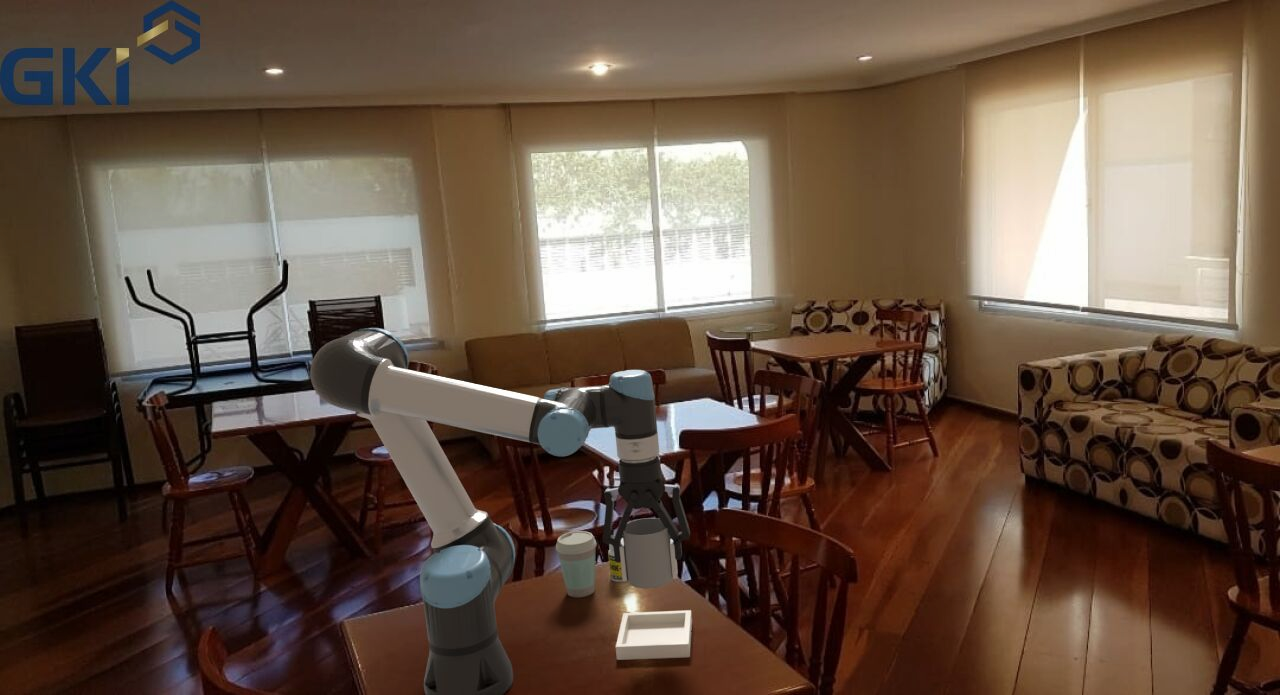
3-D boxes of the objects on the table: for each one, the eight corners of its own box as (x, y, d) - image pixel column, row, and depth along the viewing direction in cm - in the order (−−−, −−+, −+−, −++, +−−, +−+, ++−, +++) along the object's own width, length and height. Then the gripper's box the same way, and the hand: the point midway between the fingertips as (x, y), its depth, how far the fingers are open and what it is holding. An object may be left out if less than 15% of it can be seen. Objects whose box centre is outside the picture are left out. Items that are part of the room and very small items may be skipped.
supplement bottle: (607, 582, 194) (603, 544, 193) (614, 572, 199) (610, 536, 197) (628, 582, 193) (625, 545, 191) (635, 573, 197) (631, 537, 196)
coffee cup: (585, 579, 197) (579, 527, 195) (609, 590, 190) (603, 536, 188) (552, 592, 191) (546, 539, 189) (576, 604, 185) (570, 548, 183)
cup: (669, 588, 160) (664, 535, 158) (623, 588, 162) (618, 535, 160) (676, 568, 168) (671, 517, 166) (633, 569, 170) (628, 518, 168)
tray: (616, 659, 161) (615, 646, 161) (624, 625, 174) (623, 613, 173) (689, 657, 160) (688, 643, 159) (692, 622, 172) (691, 610, 172)
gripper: (576, 467, 158) (590, 588, 162) (697, 459, 156) (708, 582, 160) (583, 454, 166) (595, 571, 169) (698, 447, 164) (708, 565, 167)
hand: (650, 576), depth 165 cm, fingers closed on cup, 8 cm apart
